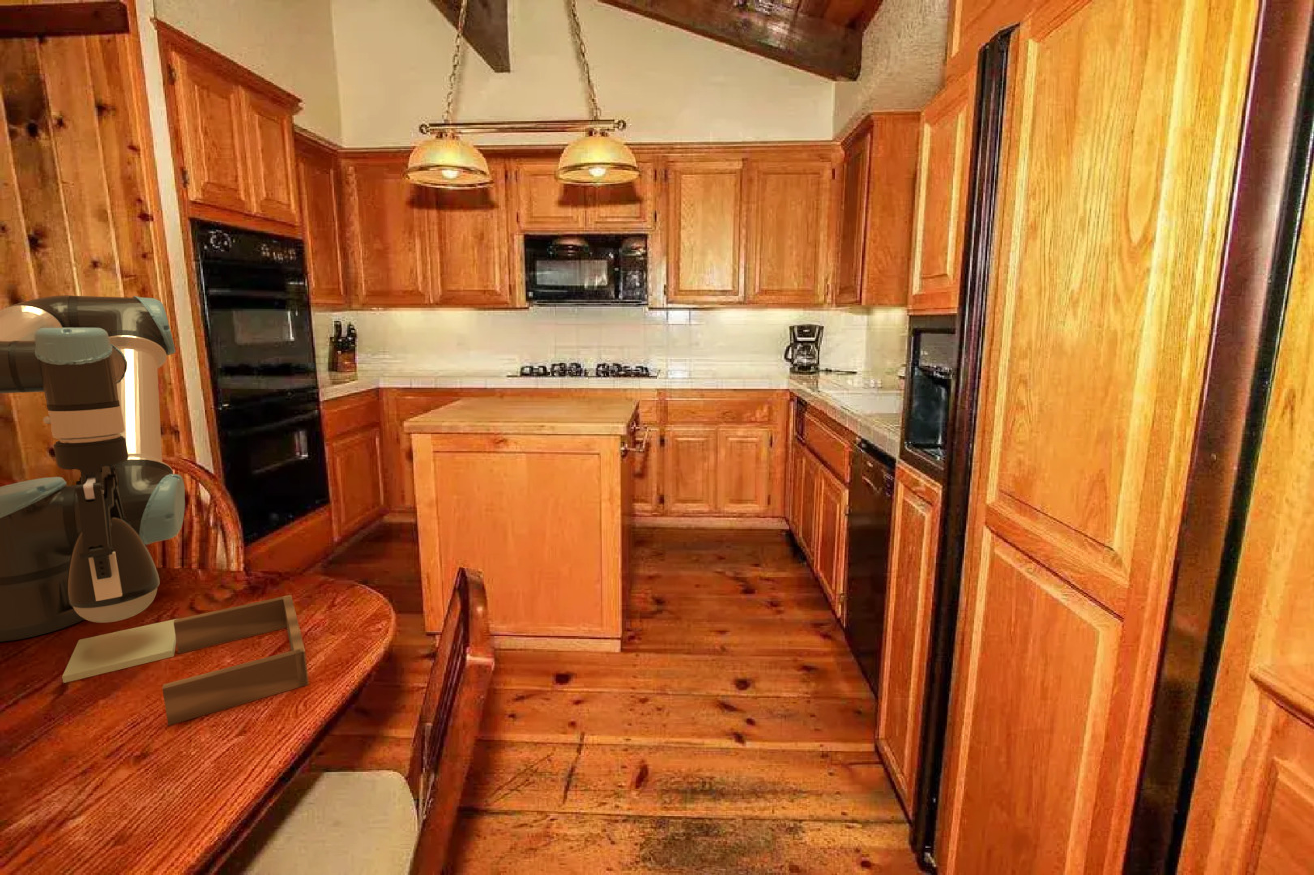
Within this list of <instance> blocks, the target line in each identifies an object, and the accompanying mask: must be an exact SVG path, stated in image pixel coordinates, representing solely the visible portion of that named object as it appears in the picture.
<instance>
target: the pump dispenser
mask: <svg viewBox="0 0 1314 875" xmlns="http://www.w3.org/2000/svg"><path fill="white" fill-rule="evenodd" d="M110 520H111V535H112V548H113V552H115V553H116V559H117V565H118V571H119V577H120V583H121V589H122V596H121V597H116V598H110V599H105V600H100V601H96V597H95V592H94V586H93V581H92V575H91V569H90V564H89V558H85V559H81V558H80V554H82V553H83V552H84V547H83V538H82V530H81V532H80V533H79V535H78V537H77V539H76V541H75V544H74V547H73V550H72V554H71V559H70V564H69V569H68V578H67V599H68V603H69V605H71V606H73V608H74V610H75V611H76V613H77V614H78V615H79V616H81V617H82V618H84V620H87V621H88V622H92V623H100V624H101V623H103V624H104V623H106V624H107V623H113V622H115V623H116V622H118V621H119V622H120V621H123V620H126V619H130V618H131V617H134V616H136V615H138V614H140V613H142V612H143V611H145V610H146V609H147V608H148V607H149V606H150V605H151V604H152V603H153V601H154V600H155V597H156V595H157V594H158V593H157V591H158V587H159V586H160V581H161V580H160V577H159V576H160V575H159V573H158V568H156V564H155V562H154V560H153V557H152V555H151V553H150V552H149V549H148V547H147V546H146V545H145V544H144V542H143V541H142V539H141V538H140V536H139V535H138V534H137V532H136V531H135V530H134V529H133V528H132V527H131V526H130V525H129V524H128V523H127V522H125V521H124V520H122V519H119V518H116V517H114V516H110ZM99 546H102V545H98V546H94V547H99Z"/></svg>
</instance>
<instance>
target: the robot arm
mask: <svg viewBox="0 0 1314 875" xmlns="http://www.w3.org/2000/svg"><path fill="white" fill-rule="evenodd" d="M167 315H168V314H167V313H166V309H165V305H164V304H163V303H162V302H161V301H160V300H159V299H158V298H154V297H153V298H152V297H141V296H136V295H133V296H132V297H127V296H125V297H123V296H122V297H121V296H120V297H119V296H95V295H94V296H92V295H69V294H67V295H66V294H65V295H63V294H62V295H52V296H43V297H38V298H34V299H28V300H25V301H22V302H18V303H15V304H11V305H9V306H6V307H4V308H3V309H1V310H0V394H15V393H17V394H19V393H25V394H26V393H43V394H44V398H45V403H46V409H47V412H48V413H47V414H48V416H44V417H43V419H42V421H43V423H45V424H51V426H50V430H51V435H52V438H54V439H57V440H58V441H56V442H55V444H53V450H54V456H55V461H56V466H57V467H58V468H59V469H62V470H69V471H70V470H71V471H72V470H78V471H80V477H79V480H76V482H75V484H71V485H67V483H68V482H67V481H66V480H65V479H64V478H63V477H61V476H53V477H51V476H50V477H41V478H35V479H29V480H25V481H20V482H14V483H10V484H6V485H3V486H0V642H10V641H11V642H12V641H17V640H23V639H27V638H33V637H36V636H42V635H44V634H49V633H51V632H55V631H58V630H62V629H65V628H68V627H70V626H73V625H75V624H77V623H80V622H81V621H84V620H85V619H84V618H82V617H81V616H79V615H78V614H77V613H76V611H75V610H74V608H73V606H71V605H69V603H68V599H67V578H68V569H69V564H70V559H71V554H72V550H73V547H74V544H75V541H76V539H77V537H78V535H79V533H80V532H81V530H82V538H83V547H84V552H83V553H82V554H80V558H81V559H85V558H89V564H90V569H91V575H92V581H93V586H94V592H95V597H96V601H100V600H105V599H110V598H116V597H121V596H122V589H121V583H120V577H119V571H118V565H117V559H116V553H115V552H113V548H112V535H111V520H110V516H114V517H116V518H119V519H122V520H124V521H125V522H127V523H128V524H129V525H130V526H131V527H132V528H133V529H134V530H135V531H136V532H137V534H138V535H139V536H140V538H141V539H142V541H143V542H144V544H145V546H146V545H150V544H152V543H157V542H162V541H166V540H171V539H174V538H175V537H176V536H177V535H178V534H179V533H180V531H181V529H182V527H183V522H184V518H185V517H184V516H185V507H186V500H185V496H186V495H185V493H186V491H185V490H186V488H185V483H184V478H183V476H181V474H176V473H174V470H173V468H172V467H171V466H170V465H169V464H168V463H165V462H164V461H163V456H162V453H163V452H162V434H161V433H162V432H161V429H162V428H161V418H160V417H161V416H160V415H161V414H160V413H161V412H160V396H159V395H160V392H159V374H158V373H159V372H158V369H159V368H161V367H163V365H165V363H166V360H167V356H170V355H174V354H175V353H176V352H177V351H176V346H175V343H174V342H175V341H174V338H173V334H172V330H171V327H170V324H169V323H170V322H169V320H168V316H167ZM98 545H102V546H99V547H94V546H98Z"/></svg>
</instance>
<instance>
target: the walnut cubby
mask: <svg viewBox="0 0 1314 875" xmlns="http://www.w3.org/2000/svg"><path fill="white" fill-rule="evenodd" d="M175 619H176V620H174V629H175V635H176V647H177V648H176V649H177V653H178V655H179V654H184V653H188V652H191V651H195V650H200V649H204V648H208V647H212V646H216V645H220V644H224V643H229V642H233V641H236V640H237V641H238V640H242V639H245V638H248V637H253V636H257V635H262V634H266V633H270V632H273V631H278V630H282V629H286V631H287V632H286V633H287V636H288V640H289V646H290V651H285V652H282V653H278V654H274V655H270V656H267V657H263V658H262V657H261V658H260V659H259V658H258V659H255V660H251V661H247V662H243V663H239V664H236V665H233V666H228V667H224V668H221V669H217V670H213V671H212V670H211V671H209V672H206V673H202V674H198V675H194V676H190V677H186V678H182V679H179V680H174V681H171V682H168V683H167V682H166V683H164V684H163V683H162V694H163V701H164V708H165V713H166V720H167V725H168V726H172V725H175V724H178V723H182V722H186V721H190V720H192V719H195V718H199V717H202V716H206V715H209V714H213V713H217V712H219V711H224V710H226V709H229V708H233V707H234V708H235V707H237V706H240V705H241V706H242V705H244V704H247V703H251V702H254V701H257V700H261V699H264V698H267V697H272V696H275V695H277V694H281V693H284V692H288V691H292V690H295V689H299V688H302V687H305V686H308V685H310V683H309V674H308V666H307V664H308V663H307V656H306V650H305V646H304V641H303V637H302V633H301V628H300V624H299V621H298V617H297V613H296V609H295V605H294V600H293V597H292V594H289V595H284V596H279V597H274V598H270V599H266V600H265V599H264V600H261V601H256V602H250V603H247V604H242V605H237V606H232V607H227V608H223V609H222V608H221V609H220V610H219V609H218V610H214V611H210V612H205V613H200V614H196V615H191V616H186V617H182V618H175Z"/></svg>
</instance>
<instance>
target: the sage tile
mask: <svg viewBox="0 0 1314 875" xmlns="http://www.w3.org/2000/svg"><path fill="white" fill-rule="evenodd" d="M176 619H177V618H174V619H169V620H165V621H161V622H154V623H151V624H150V623H149V624H145V625H142V626H136V627H133V628H127V629H123V630H117V631H114V632H108V633H104V634H100V635H99V634H98V635H95V636H91V637H86V638H81V639H79V640H78V641H77V643H76V646H75V648H74V650H73V652H72V654H71V655H70V656H71V657H70V659H69V661H68V663H67V665H66V666H65V670H64V672H63V674H62V676H61V678H62V682H63V684H64V683H65V684H66V683H70V682H73V681H78V680H81V679H86V678H90V677H94V676H98V675H103V674H106V673H110V672H116V671H118V670H122V669H123V670H124V669H126V668H133V667H136V666H140V665H143V664H148V663H151V662H156V661H160V660H165V659H168V658H172V657H174V656H175V651H176V647H177V642H176V635H175V629H174V620H176Z"/></svg>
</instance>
